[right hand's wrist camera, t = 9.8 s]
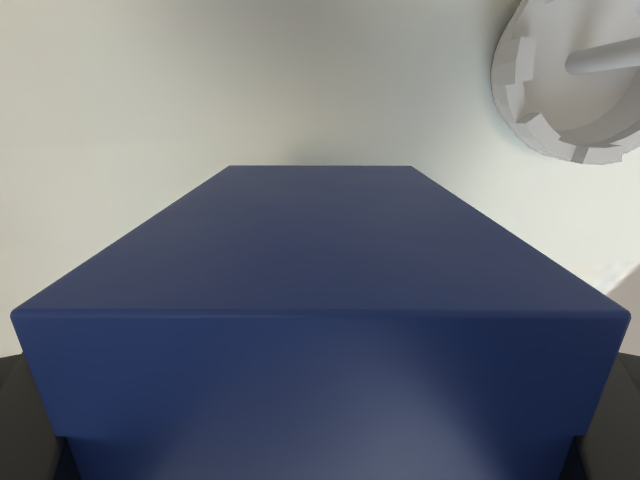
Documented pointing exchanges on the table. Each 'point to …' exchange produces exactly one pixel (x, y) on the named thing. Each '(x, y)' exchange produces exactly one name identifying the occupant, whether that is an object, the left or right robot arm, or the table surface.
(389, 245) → the box
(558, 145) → the flag stand
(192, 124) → the table surface
